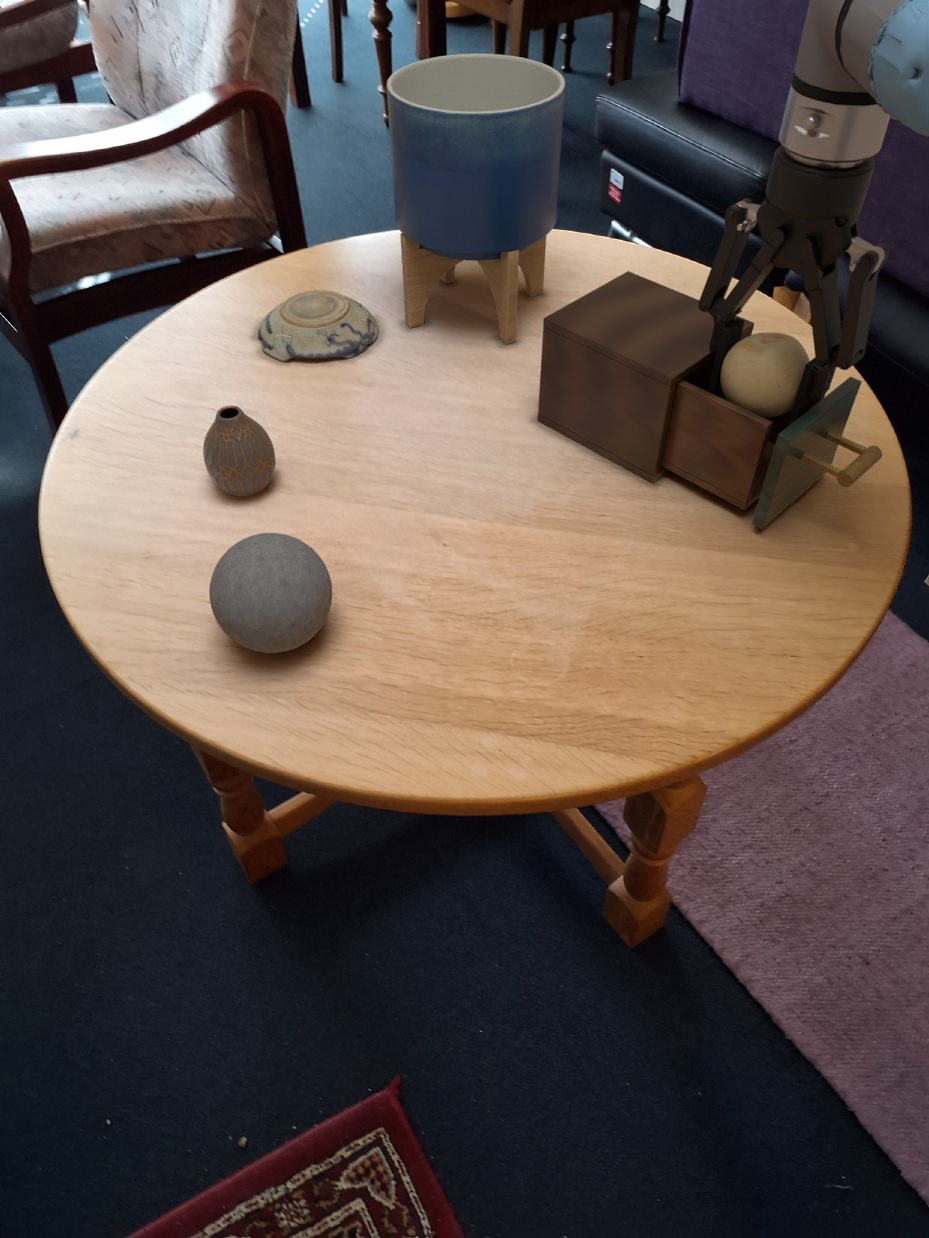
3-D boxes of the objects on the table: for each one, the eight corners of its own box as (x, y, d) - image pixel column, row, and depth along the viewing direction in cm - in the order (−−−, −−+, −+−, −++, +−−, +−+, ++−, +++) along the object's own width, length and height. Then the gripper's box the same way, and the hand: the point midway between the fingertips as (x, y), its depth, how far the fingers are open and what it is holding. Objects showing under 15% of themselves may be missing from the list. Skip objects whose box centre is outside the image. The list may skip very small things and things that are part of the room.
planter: (578, 325, 113) (599, 93, 93) (440, 363, 107) (432, 125, 88) (506, 261, 124) (512, 44, 105) (378, 292, 119) (359, 69, 99)
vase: (274, 506, 90) (258, 433, 83) (206, 506, 90) (185, 433, 83) (284, 463, 94) (270, 391, 88) (219, 463, 94) (200, 391, 88)
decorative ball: (199, 639, 78) (170, 555, 70) (284, 576, 83) (265, 492, 75) (277, 696, 73) (255, 614, 66) (362, 626, 79) (350, 542, 71)
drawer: (877, 493, 89) (915, 403, 81) (811, 556, 83) (845, 465, 75) (709, 412, 98) (728, 325, 90) (638, 463, 92) (653, 375, 84)
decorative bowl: (233, 340, 111) (320, 379, 105) (226, 313, 108) (316, 350, 102) (316, 294, 119) (402, 326, 113) (312, 267, 117) (400, 299, 110)
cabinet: (729, 426, 98) (754, 322, 89) (653, 483, 91) (672, 378, 82) (615, 371, 105) (628, 270, 96) (537, 420, 99) (543, 318, 90)
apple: (761, 440, 81) (735, 362, 78) (720, 424, 88) (695, 352, 85) (837, 399, 81) (814, 319, 78) (790, 386, 88) (768, 313, 85)
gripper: (685, 129, 72) (645, 376, 89) (934, 205, 62) (836, 468, 79) (737, 105, 75) (690, 347, 92) (981, 173, 65) (878, 431, 82)
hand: (757, 402), depth 85 cm, fingers closed on apple, 8 cm apart
